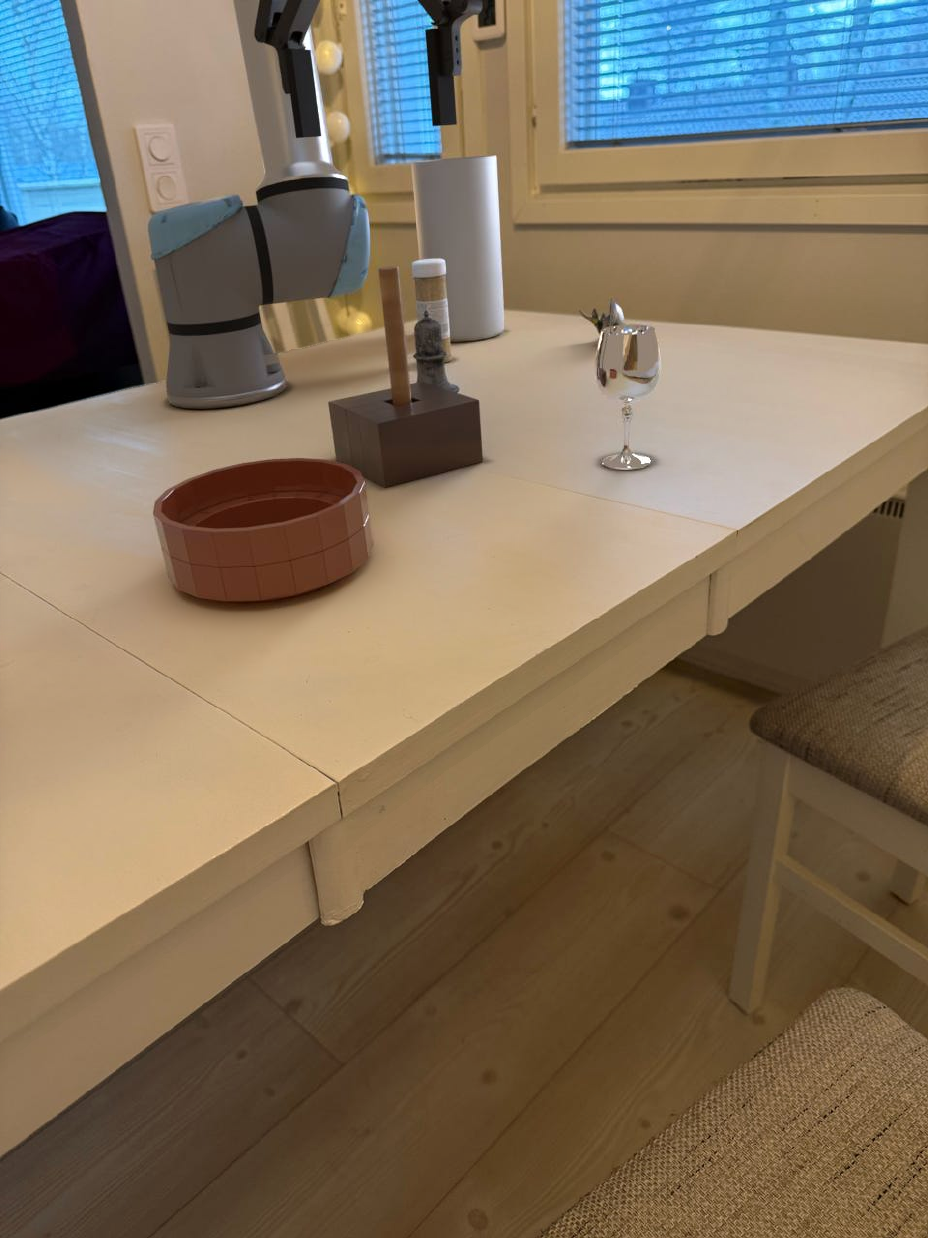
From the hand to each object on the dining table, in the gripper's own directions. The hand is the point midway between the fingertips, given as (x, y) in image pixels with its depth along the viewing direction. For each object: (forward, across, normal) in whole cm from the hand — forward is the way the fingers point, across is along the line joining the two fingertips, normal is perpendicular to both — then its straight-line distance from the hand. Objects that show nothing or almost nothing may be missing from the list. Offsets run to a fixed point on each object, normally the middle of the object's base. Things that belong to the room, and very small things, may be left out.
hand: (374, 131), depth 77 cm
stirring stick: (+29, 0, 0) cm, 29 cm away
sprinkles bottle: (+29, -20, +40) cm, 53 cm away
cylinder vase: (+29, -24, +58) cm, 69 cm away
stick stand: (+29, 0, 0) cm, 29 cm away
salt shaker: (+29, -4, +13) cm, 32 cm away
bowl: (+29, +3, -25) cm, 38 cm away
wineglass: (+29, +20, +6) cm, 36 cm away
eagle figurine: (+29, +2, +55) cm, 62 cm away
